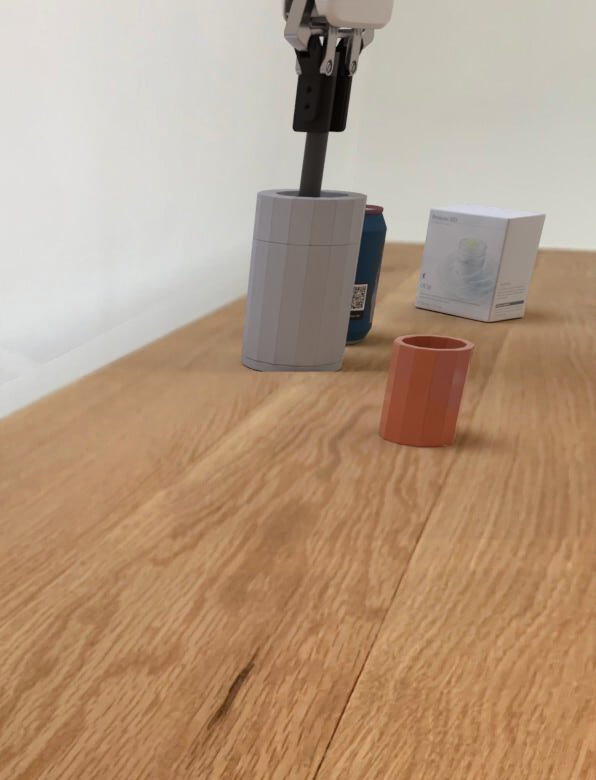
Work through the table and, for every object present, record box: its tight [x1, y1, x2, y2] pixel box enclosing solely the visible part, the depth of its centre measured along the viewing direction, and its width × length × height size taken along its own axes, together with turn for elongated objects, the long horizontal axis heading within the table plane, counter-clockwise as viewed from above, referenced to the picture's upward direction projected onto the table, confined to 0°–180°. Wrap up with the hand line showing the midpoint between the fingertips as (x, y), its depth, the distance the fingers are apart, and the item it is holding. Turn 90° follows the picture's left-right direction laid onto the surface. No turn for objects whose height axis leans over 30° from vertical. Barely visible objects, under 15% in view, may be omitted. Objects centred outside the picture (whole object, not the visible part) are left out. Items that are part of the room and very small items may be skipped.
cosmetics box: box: [414, 203, 547, 323], centre depth 121 cm, size 10×6×10 cm, turn 33°
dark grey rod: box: [298, 52, 340, 197], centre depth 93 cm, size 3×3×18 cm
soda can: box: [345, 203, 388, 345], centre depth 108 cm, size 7×7×12 cm
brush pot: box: [378, 334, 476, 448], centre depth 78 cm, size 5×5×7 cm
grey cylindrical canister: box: [241, 188, 368, 373], centre depth 97 cm, size 9×9×14 cm
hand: (318, 129), depth 91 cm, fingers closed on dark grey rod
